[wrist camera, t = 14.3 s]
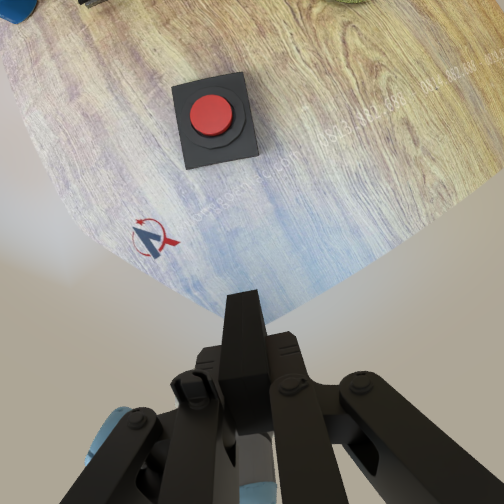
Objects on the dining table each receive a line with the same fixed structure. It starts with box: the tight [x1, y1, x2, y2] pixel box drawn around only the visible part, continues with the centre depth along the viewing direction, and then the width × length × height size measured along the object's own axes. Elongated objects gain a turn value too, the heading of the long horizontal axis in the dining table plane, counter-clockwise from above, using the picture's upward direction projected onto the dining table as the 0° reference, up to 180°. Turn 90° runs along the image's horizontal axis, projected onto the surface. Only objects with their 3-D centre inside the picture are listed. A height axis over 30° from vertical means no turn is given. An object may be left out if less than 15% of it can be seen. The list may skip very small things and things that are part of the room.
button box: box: [171, 72, 259, 170], centre depth 34 cm, size 11×9×4 cm
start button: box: [190, 95, 233, 136], centre depth 31 cm, size 5×5×2 cm
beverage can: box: [0, 0, 37, 24], centre depth 21 cm, size 6×6×12 cm
